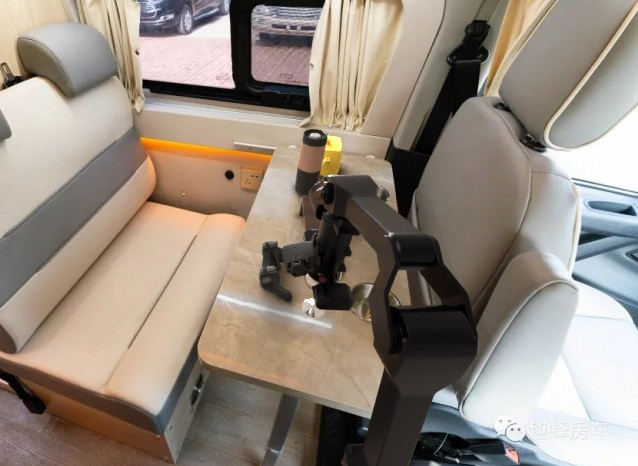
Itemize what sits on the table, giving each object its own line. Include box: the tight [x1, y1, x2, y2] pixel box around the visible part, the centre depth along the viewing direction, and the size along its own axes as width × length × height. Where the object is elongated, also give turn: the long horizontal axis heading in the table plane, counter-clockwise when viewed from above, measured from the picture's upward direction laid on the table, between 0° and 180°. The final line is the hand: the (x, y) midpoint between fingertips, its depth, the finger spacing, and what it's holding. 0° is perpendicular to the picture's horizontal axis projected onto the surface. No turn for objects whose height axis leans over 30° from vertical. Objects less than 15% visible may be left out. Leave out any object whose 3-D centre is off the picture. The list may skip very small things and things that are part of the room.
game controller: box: [258, 240, 293, 303], centre depth 82 cm, size 16×7×10 cm, turn 171°
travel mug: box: [294, 128, 329, 195], centre depth 107 cm, size 8×8×20 cm
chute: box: [298, 196, 321, 232], centre depth 91 cm, size 25×8×7 cm, turn 177°
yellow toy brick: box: [319, 135, 343, 177], centre depth 120 cm, size 20×12×12 cm, turn 167°
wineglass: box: [301, 268, 343, 319], centre depth 68 cm, size 7×7×12 cm
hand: (317, 293), depth 68 cm, fingers closed on wineglass, 6 cm apart
